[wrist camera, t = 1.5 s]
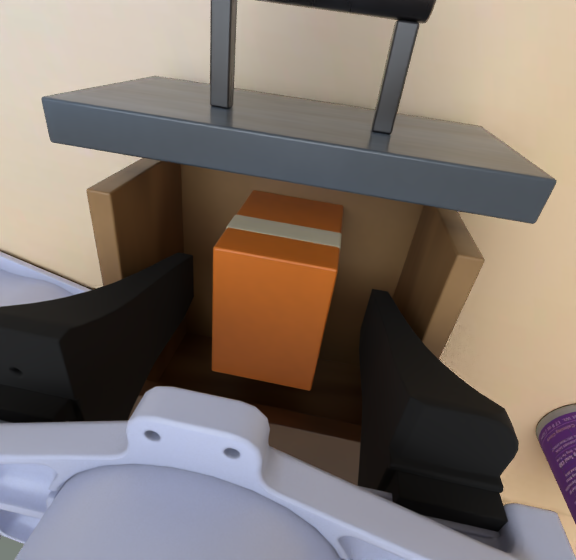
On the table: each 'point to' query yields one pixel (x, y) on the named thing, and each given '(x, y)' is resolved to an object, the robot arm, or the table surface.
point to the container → (561, 450)
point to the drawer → (301, 184)
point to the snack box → (274, 288)
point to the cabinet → (306, 437)
